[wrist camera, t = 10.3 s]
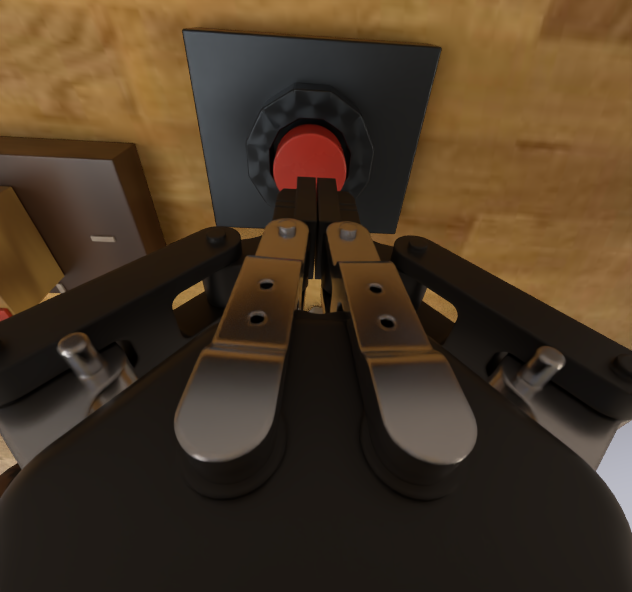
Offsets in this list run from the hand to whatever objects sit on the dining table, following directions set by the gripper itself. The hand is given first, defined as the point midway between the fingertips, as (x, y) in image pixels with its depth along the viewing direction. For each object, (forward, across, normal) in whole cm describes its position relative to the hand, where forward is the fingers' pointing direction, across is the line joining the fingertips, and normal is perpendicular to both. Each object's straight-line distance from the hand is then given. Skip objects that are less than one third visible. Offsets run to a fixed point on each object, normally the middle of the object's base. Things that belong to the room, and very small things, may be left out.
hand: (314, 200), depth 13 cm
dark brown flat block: (+9, +18, +6) cm, 21 cm away
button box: (+9, 0, 0) cm, 9 cm away
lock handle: (+6, +18, +6) cm, 20 cm away
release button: (+5, 0, 0) cm, 5 cm away
